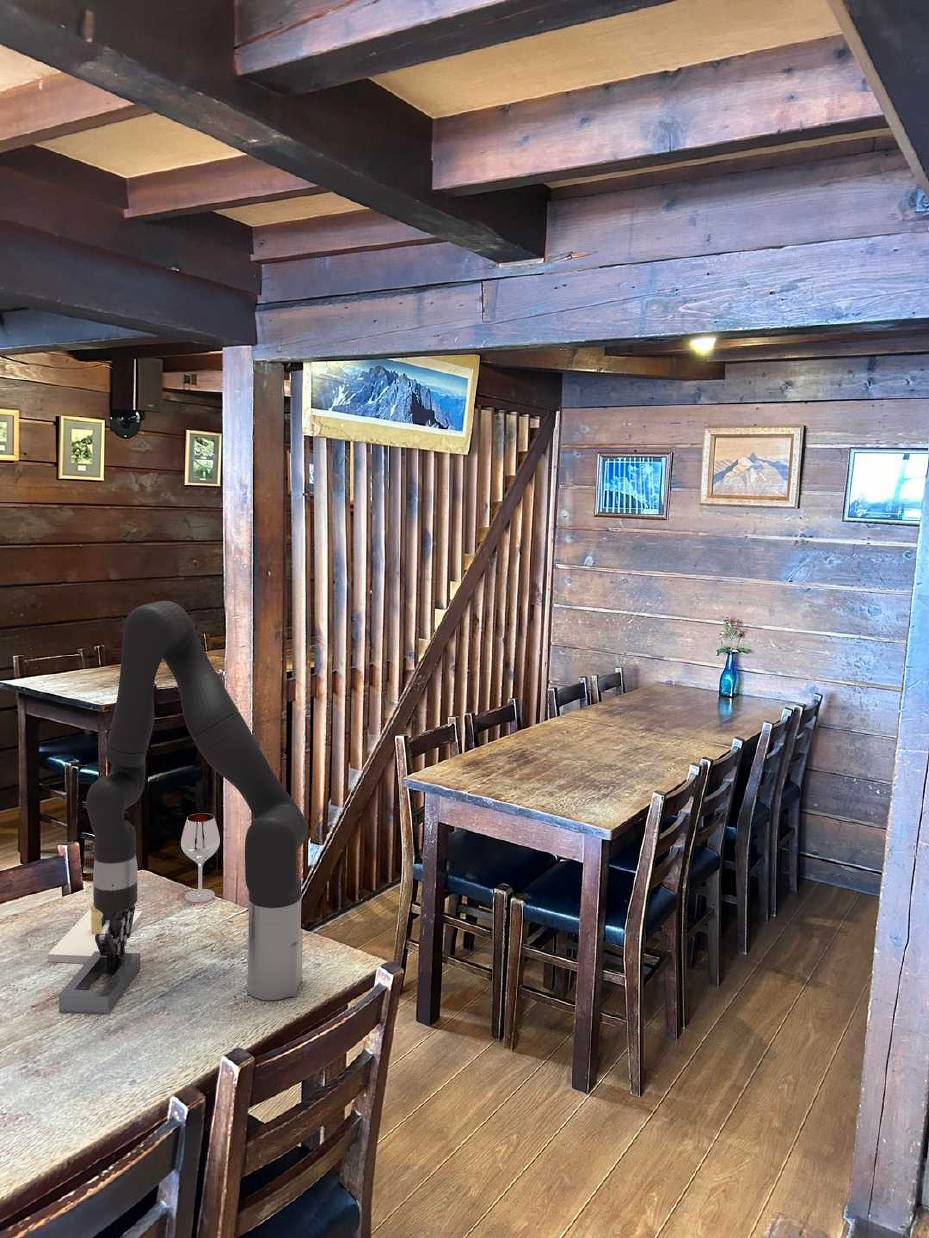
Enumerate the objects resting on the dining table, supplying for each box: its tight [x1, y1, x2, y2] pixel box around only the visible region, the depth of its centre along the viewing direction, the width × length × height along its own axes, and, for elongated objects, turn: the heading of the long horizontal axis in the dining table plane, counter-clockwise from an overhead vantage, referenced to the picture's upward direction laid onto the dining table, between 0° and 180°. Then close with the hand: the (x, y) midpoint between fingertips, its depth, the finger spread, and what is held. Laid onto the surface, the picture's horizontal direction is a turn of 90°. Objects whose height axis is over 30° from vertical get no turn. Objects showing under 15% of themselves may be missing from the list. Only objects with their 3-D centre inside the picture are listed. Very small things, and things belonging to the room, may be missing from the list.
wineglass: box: [180, 812, 221, 903], centre depth 197 cm, size 8×8×18 cm
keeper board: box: [47, 901, 144, 964], centre depth 176 cm, size 11×19×8 cm, turn 0°
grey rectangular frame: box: [58, 951, 141, 1015], centre depth 159 cm, size 15×8×3 cm, turn 0°
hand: (115, 968), depth 165 cm, fingers closed on grey rectangular frame
